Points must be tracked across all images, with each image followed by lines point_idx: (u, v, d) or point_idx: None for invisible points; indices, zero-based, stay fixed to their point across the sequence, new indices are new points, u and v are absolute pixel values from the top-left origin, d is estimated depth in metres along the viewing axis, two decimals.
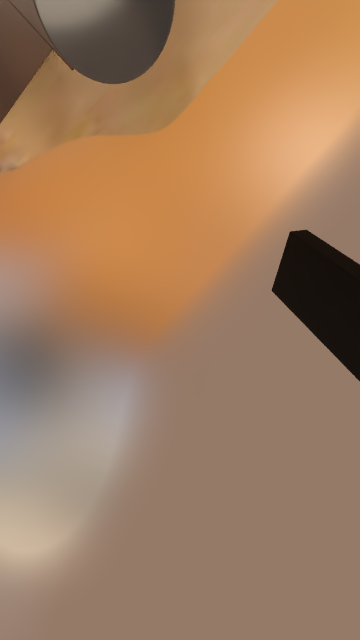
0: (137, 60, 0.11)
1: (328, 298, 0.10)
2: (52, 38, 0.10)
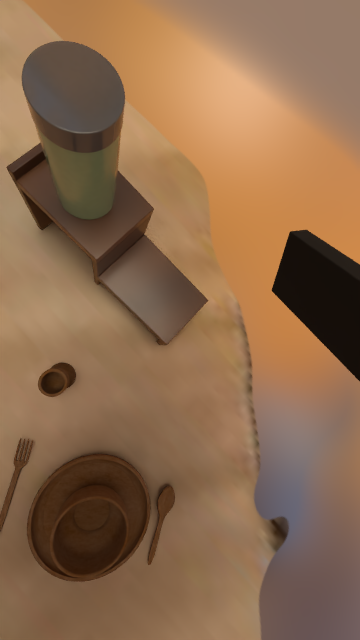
0: (107, 73, 0.14)
1: (328, 298, 0.10)
2: (99, 128, 0.14)
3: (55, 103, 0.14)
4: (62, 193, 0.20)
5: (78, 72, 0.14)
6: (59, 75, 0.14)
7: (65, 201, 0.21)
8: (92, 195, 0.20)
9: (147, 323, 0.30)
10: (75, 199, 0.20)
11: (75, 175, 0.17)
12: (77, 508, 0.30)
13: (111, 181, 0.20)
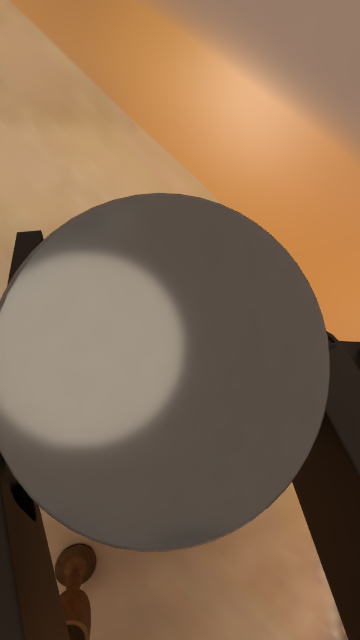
0: (280, 286, 0.04)
1: None
2: (266, 500, 0.04)
3: (117, 452, 0.03)
4: None
5: (192, 304, 0.04)
6: (129, 332, 0.04)
7: None
8: None
9: None
10: None
11: None
12: None
13: None
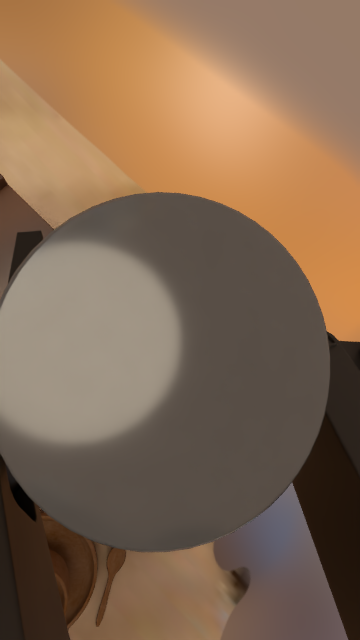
0: (281, 286, 0.04)
1: None
2: (267, 500, 0.04)
3: (117, 452, 0.03)
4: None
5: (192, 304, 0.04)
6: (129, 332, 0.04)
7: None
8: None
9: None
10: None
11: None
12: None
13: None
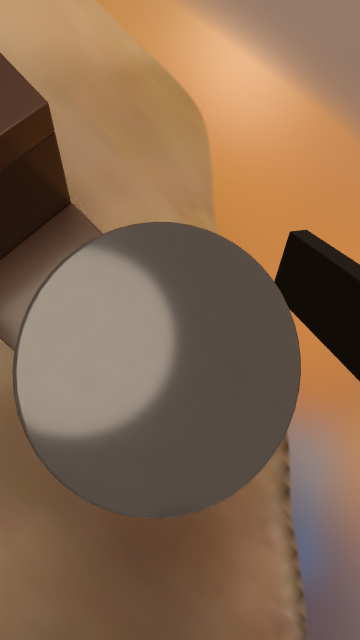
0: (258, 299, 0.05)
1: (328, 298, 0.10)
2: (245, 478, 0.05)
3: (120, 437, 0.04)
4: None
5: (182, 315, 0.05)
6: (129, 338, 0.04)
7: None
8: None
9: None
10: None
11: None
12: None
13: None
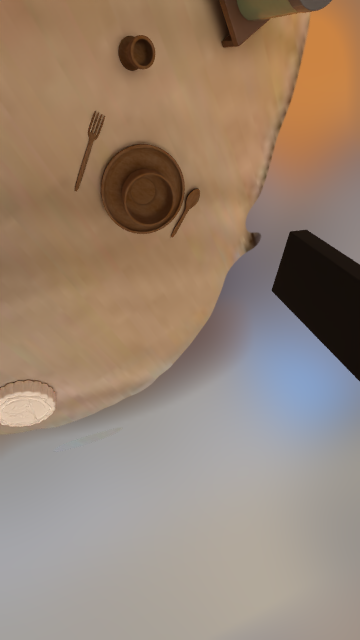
0: None
1: (328, 298, 0.10)
2: (321, 6, 0.24)
3: None
4: (252, 4, 0.28)
5: None
6: None
7: (248, 7, 0.28)
8: (273, 17, 0.28)
9: (229, 10, 0.29)
10: (259, 14, 0.28)
11: (279, 12, 0.26)
12: (133, 185, 0.40)
13: None
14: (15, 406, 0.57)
